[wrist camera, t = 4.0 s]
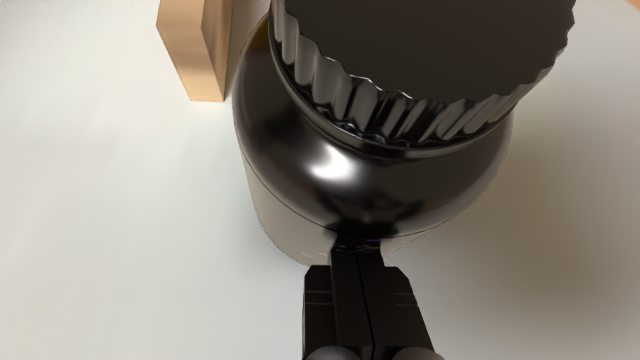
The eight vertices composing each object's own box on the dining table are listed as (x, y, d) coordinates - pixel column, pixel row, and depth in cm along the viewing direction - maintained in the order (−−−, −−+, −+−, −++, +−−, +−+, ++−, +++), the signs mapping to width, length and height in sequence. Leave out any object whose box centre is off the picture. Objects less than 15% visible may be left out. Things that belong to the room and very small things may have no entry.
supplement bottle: (332, 310, 16) (445, 302, 4) (221, 188, 17) (87, -63, 6) (442, 198, 18) (722, -11, 6) (335, 96, 19) (408, -233, 7)
